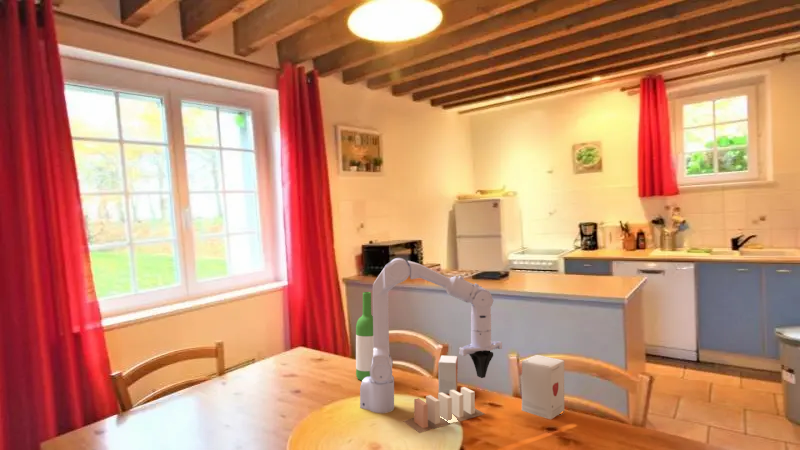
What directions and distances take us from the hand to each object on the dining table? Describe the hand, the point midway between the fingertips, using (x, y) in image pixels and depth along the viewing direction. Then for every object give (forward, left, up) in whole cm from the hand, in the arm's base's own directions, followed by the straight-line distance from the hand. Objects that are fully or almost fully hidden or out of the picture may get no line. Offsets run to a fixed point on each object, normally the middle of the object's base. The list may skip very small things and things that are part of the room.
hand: (481, 376), depth 127 cm
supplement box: (+16, +7, -10) cm, 20 cm away
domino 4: (-5, -8, -9) cm, 13 cm away
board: (-7, -11, -10) cm, 16 cm away
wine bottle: (-44, +7, -10) cm, 46 cm away
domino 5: (-3, -4, -9) cm, 10 cm away
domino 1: (-10, -18, -9) cm, 23 cm away
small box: (-14, +9, -10) cm, 19 cm away
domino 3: (-7, -11, -9) cm, 16 cm away
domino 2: (-9, -15, -9) cm, 19 cm away
